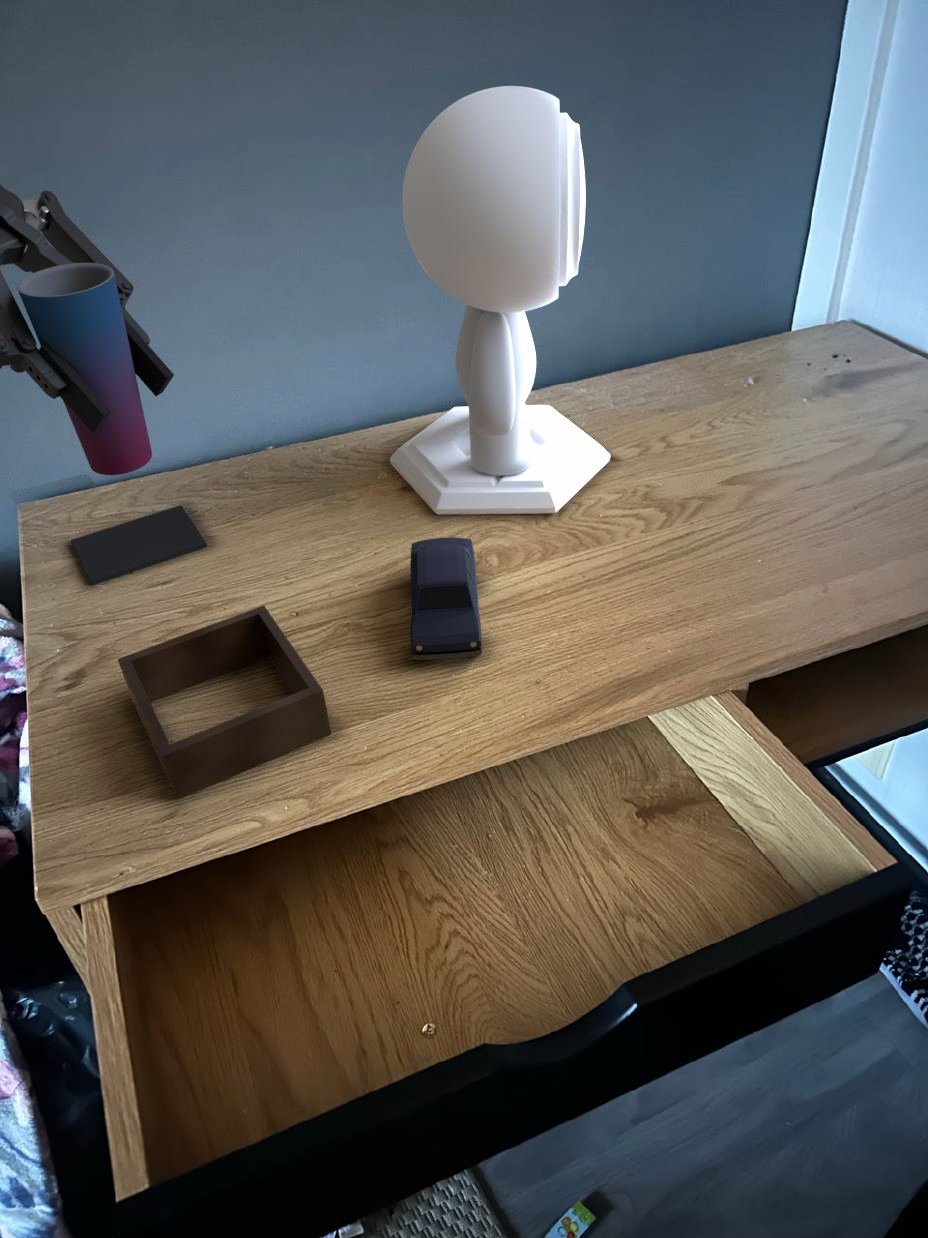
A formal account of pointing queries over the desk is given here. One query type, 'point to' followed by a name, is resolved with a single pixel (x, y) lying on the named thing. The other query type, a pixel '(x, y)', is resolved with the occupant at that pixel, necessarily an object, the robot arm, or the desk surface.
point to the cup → (92, 357)
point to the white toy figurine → (498, 298)
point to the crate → (242, 736)
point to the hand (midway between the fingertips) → (134, 402)
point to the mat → (137, 544)
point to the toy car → (444, 600)
